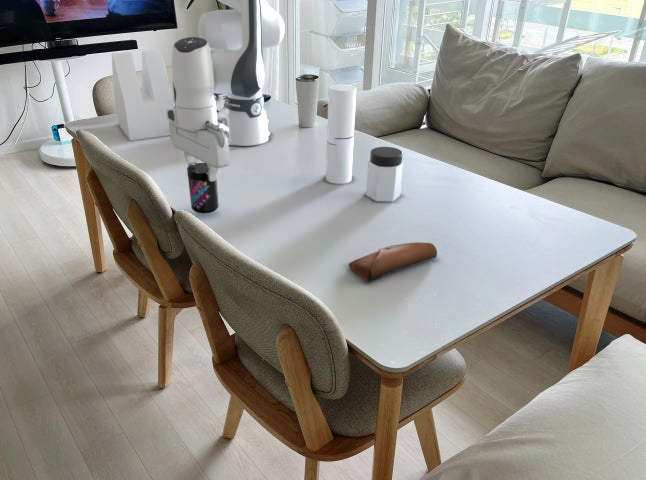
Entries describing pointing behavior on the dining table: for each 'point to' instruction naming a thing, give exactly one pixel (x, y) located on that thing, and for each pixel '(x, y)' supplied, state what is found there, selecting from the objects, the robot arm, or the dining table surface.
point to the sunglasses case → (392, 259)
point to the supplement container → (202, 189)
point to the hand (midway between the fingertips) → (202, 175)
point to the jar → (384, 174)
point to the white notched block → (142, 95)
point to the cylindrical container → (340, 133)
